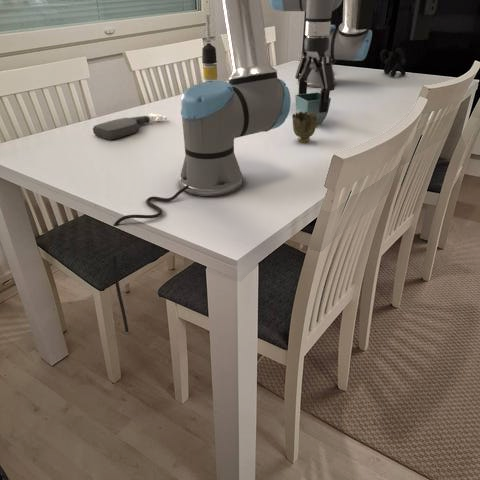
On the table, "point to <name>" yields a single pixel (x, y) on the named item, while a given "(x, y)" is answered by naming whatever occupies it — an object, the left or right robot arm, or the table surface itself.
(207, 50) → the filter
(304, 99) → the teal square planter
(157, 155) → the table surface
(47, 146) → the table surface
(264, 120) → the left robot arm
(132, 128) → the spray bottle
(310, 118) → the cup
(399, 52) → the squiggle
